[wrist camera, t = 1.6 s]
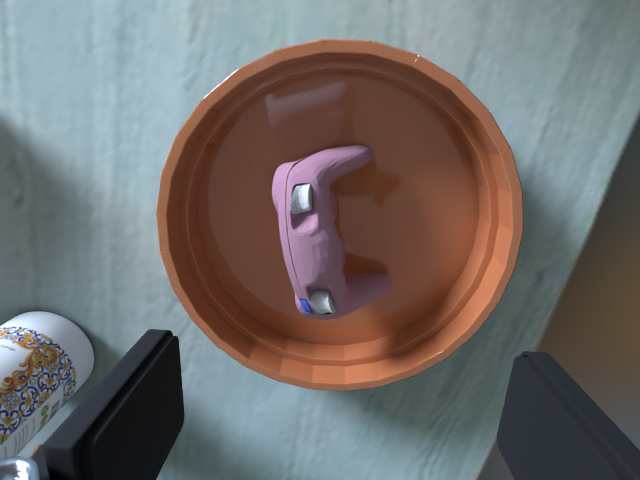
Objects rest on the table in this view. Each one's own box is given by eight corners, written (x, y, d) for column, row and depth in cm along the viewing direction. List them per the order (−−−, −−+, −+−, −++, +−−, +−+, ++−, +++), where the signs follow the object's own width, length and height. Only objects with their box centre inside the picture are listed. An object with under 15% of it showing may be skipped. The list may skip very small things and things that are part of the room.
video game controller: (311, 148, 24) (242, 169, 19) (377, 137, 22) (321, 158, 16) (337, 284, 27) (285, 339, 22) (398, 288, 25) (357, 350, 19)
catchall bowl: (171, 46, 22) (137, 31, 18) (522, 60, 21) (563, 48, 18) (194, 346, 28) (172, 381, 24) (465, 360, 28) (486, 399, 24)
